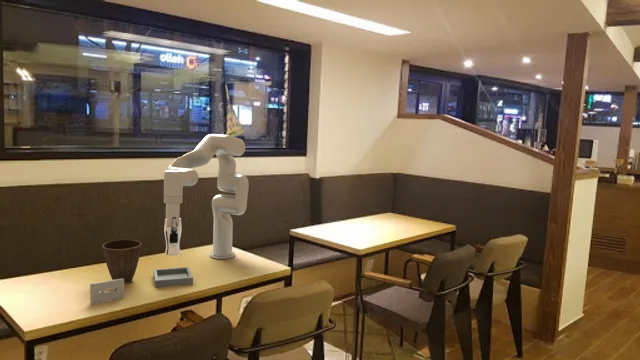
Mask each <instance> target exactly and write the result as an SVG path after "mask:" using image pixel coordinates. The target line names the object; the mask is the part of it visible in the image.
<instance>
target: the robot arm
mask: <svg viewBox="0 0 640 360" xmlns="http://www.w3.org/2000/svg"><path fill="white" fill-rule="evenodd" d="M245 151H246V144H245V142H244V140H243V139H242V138H238V137H236V136H232V135H229V134H217V133H211V134H207V135H206V136H204V137H203V139H202V140H201V141H200V142H199V143H198V144H197V146H196V147H195V148H194V149H193V150H192V151H190V152H186V153H185V154H183V155H182V156H179V157H177V158H176V159H174V161H172V163H171V164H169V166H168V167H167V169H166V170H165V171H164V173H163V203H164V204H165V219H166V226H167V227H169V226H170V243H178V233H177V227H178V226H179V218H180V214H181V213H180V211H181V210H180V209H181V208H180V206H181V205H180V204H182V203H183V202H184V201H183V193H184V192H183V189H184V188H183V187H192V186H195V185H196V184H197V183H198V181H199V174H198V172H197V170H195V168H198V167H203V166H206V165H207V164H208V163H209V162H210V161H211V160H212V158H213V157H214V156H216V158H217V160H218V170H217V171H218V173H217V181H216V186H217V189H218V191H221V192H225V193H233V194H235V195H231V194H225V193H224V194H223V193H221V194H216V195H214V197H213V198H212V199H211V208H212V209H211V210H212V215H213V227H212V229H213V234H212V235H213V236H212V237H213V239H212V251H211V252H210V253H209V257H211V259H212V258H213V259H219V260H227V259H228V260H229V259H232V258H234V257H235V256H236V253H235V252H234V251H233V228H234V227H233V223H234V222H233V218H232V216H231V215H234V216H242V215H244V214H245V212H246V210H247V206H248V205H247V203H248V198H249V197H248V196H249V184H250V183H249V179H248V177H247V176H246V175H245V174H241V173H236V171H237V169H236V168H237V163H236V160H235V157H240V156H243V155H244V153H245ZM172 224H173V226H171V225H172ZM177 224H178V225H177Z"/></svg>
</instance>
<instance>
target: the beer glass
mask: <svg viewBox="0 0 640 360" xmlns="http://www.w3.org/2000/svg"><path fill="white" fill-rule="evenodd" d="M163 225H164V230H163V231H164V237H165V246H166V247H165V253H164V254H165V256H178V255H180V254H181V250H180V242H181V236H182V229H183V227H182V218H181V217H179V226H178V227H177V233H178V243H170V226H169V227H167V226H166V218H164V224H163ZM177 225H178V224H177ZM171 226H173V224H172V225H171Z"/></svg>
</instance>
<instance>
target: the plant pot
mask: <svg viewBox="0 0 640 360" xmlns="http://www.w3.org/2000/svg"><path fill="white" fill-rule="evenodd" d="M141 249H142V242H141V241H139V240H135V239H134V240H133V239H117V240H112V241H111V240H110V241H107V242H105V243H103V245H102V251H103V254H104V255H103V256H104V259H105V264H106V267H107V270H108V273H109V275H110V278H111V280H116V279H122V278H123V279H124V285H125V284H128V283H132V281H133V280H134V277H135V274H136V271H137V267H138V263H139V261H140V260H139V259H140V254H141Z"/></svg>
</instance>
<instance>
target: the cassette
mask: <svg viewBox="0 0 640 360" xmlns="http://www.w3.org/2000/svg"><path fill="white" fill-rule="evenodd" d="M108 289H109V290H108ZM105 290H107V291H105ZM89 291H90V292H89V293H90V297H89V299H90V304H91V305H95V304H102V303H107V302H112V301H118V300H120V299H125V284H124V279H123V278H122V279H116V280H112V279H109V280H105V281H99V282H94V283H93V282H92V283H90V284H89Z"/></svg>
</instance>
